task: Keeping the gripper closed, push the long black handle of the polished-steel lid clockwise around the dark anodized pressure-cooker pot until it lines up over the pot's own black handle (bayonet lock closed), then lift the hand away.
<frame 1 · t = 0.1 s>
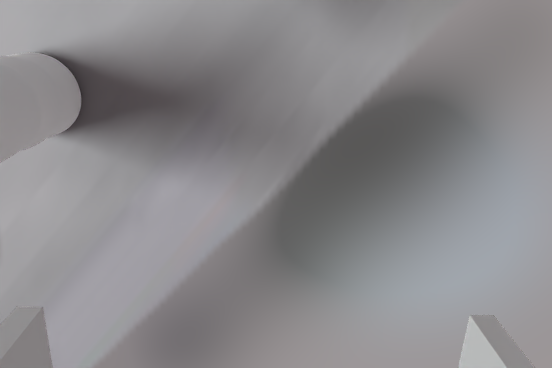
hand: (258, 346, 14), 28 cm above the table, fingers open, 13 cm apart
water bottle: (44, 93, 39), on the table
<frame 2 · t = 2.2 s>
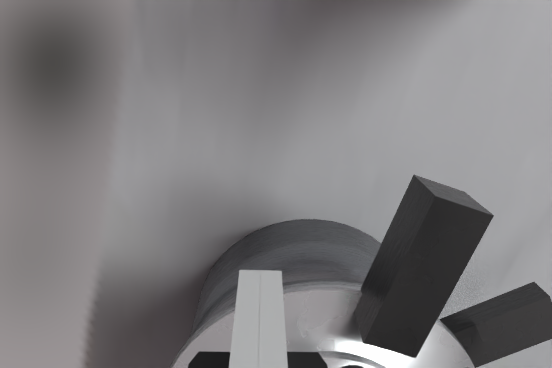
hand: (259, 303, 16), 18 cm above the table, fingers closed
pot: (305, 317, 37), on the table
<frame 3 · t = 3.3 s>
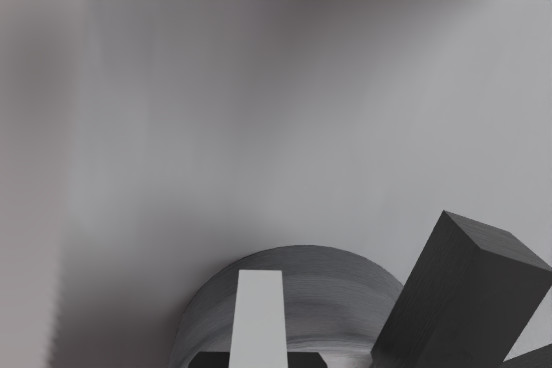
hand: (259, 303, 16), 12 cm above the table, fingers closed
pot: (300, 356, 32), on the table
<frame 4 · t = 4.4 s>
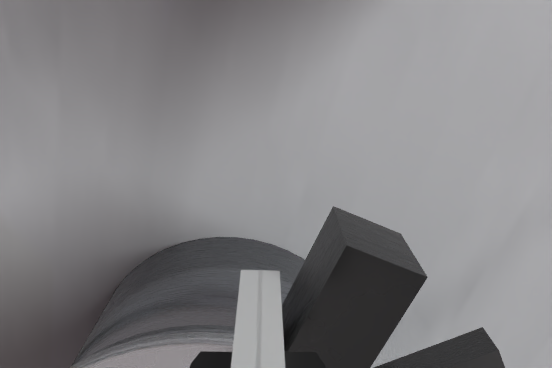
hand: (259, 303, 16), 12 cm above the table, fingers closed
pot: (229, 350, 31), on the table
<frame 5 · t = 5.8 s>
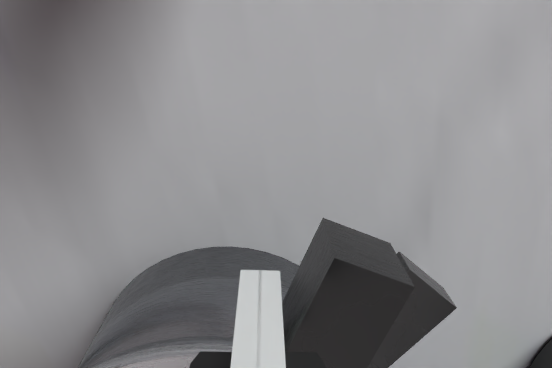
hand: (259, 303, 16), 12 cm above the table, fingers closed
pot: (228, 358, 32), on the table
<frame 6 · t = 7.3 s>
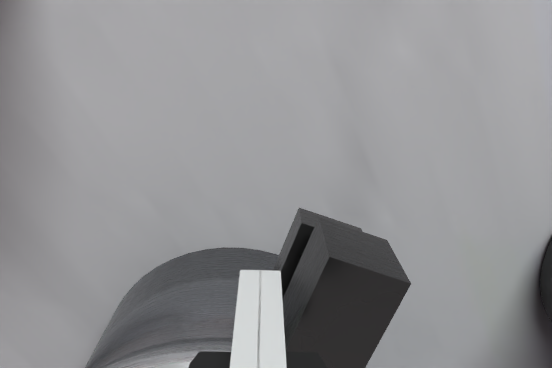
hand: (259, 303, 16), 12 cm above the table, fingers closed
pot: (233, 358, 32), on the table
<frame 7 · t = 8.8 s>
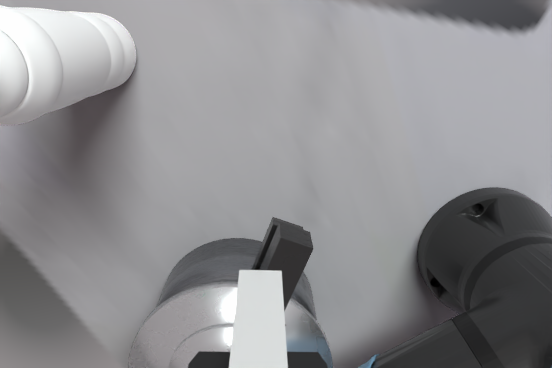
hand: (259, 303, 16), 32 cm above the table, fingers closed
pot: (238, 305, 53), on the table
water bottle: (102, 51, 43), on the table
lid: (238, 365, 41), point 12 cm above the table, hinge at -0.3°
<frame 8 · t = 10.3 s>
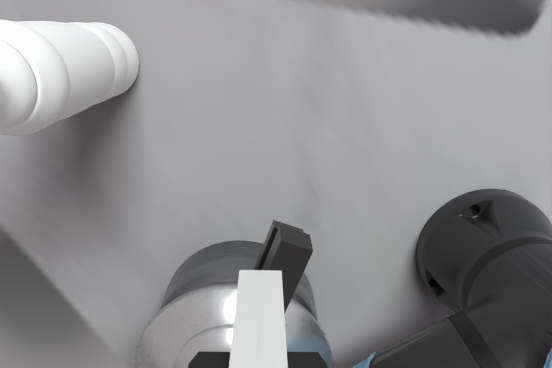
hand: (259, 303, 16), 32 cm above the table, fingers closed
pot: (240, 306, 54), on the table
water bottle: (105, 60, 44), on the table
lid: (241, 365, 42), point 12 cm above the table, hinge at -0.3°
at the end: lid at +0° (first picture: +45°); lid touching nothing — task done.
